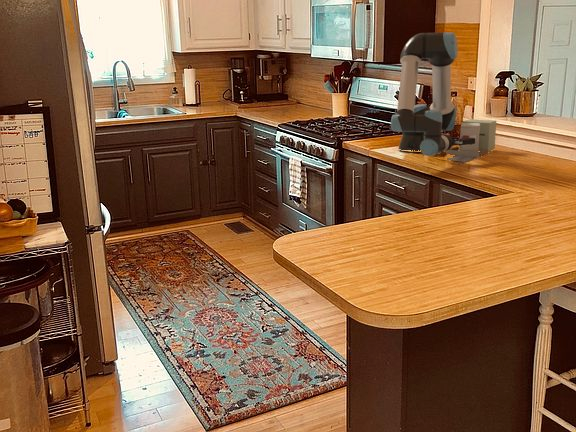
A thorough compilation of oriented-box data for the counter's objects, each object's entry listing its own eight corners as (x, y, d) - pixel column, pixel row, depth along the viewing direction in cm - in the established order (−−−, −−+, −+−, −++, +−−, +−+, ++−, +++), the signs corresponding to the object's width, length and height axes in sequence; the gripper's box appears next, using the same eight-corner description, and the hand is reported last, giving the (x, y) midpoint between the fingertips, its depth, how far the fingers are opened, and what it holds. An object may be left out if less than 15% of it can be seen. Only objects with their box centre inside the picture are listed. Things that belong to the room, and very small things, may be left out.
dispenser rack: (478, 158, 300) (479, 127, 296) (446, 155, 310) (447, 124, 306) (496, 150, 318) (498, 120, 314) (466, 147, 328) (467, 119, 324)
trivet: (436, 159, 300) (436, 158, 300) (449, 154, 310) (449, 154, 310) (464, 162, 291) (464, 161, 291) (476, 157, 302) (476, 156, 302)
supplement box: (459, 155, 309) (460, 125, 304) (459, 152, 317) (460, 122, 313) (478, 155, 306) (479, 125, 302) (478, 152, 314) (479, 122, 310)
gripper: (416, 149, 294) (437, 143, 310) (467, 153, 279) (486, 147, 294) (417, 133, 292) (437, 127, 308) (468, 137, 277) (487, 131, 292)
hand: (461, 137), depth 301 cm, fingers open, 13 cm apart
